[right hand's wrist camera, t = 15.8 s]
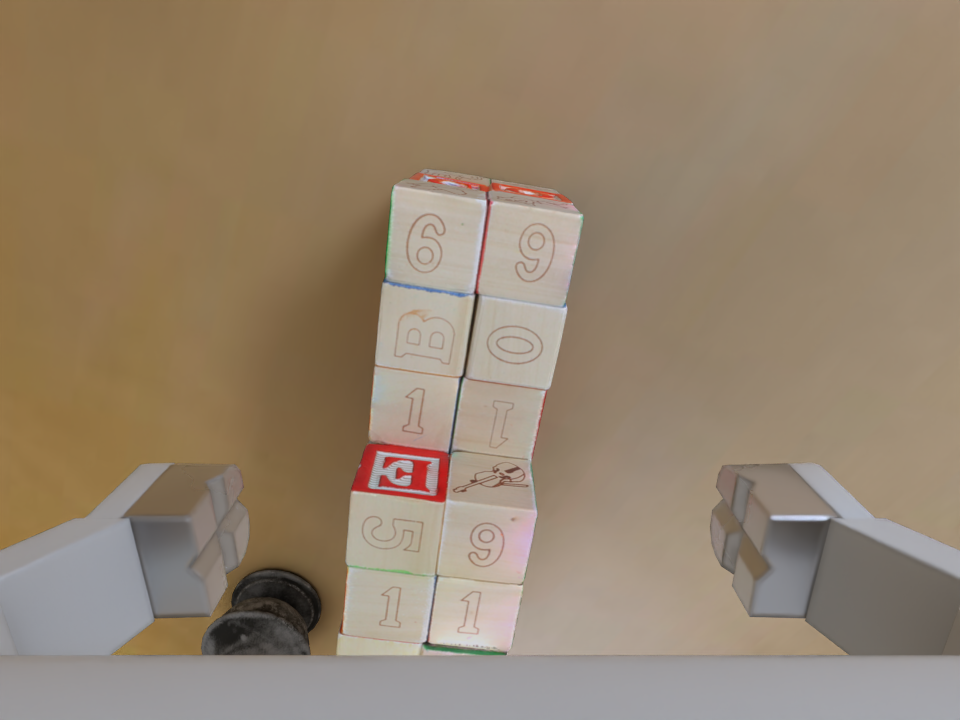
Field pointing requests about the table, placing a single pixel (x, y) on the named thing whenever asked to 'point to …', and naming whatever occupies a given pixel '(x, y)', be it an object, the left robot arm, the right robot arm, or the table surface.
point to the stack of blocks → (456, 414)
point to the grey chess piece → (266, 617)
